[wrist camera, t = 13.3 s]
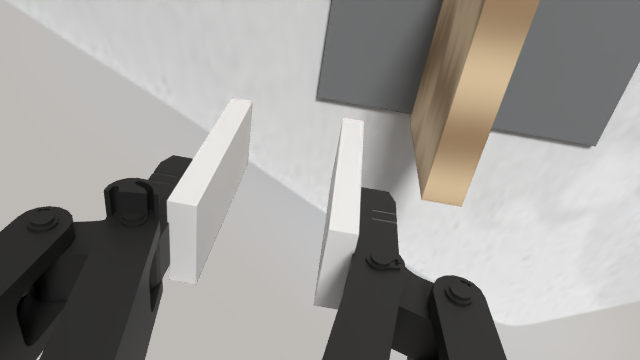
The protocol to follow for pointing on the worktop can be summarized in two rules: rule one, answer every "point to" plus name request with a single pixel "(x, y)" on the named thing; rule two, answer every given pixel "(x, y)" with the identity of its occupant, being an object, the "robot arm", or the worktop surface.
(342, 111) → the worktop surface
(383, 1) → the rubber mat
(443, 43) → the oak board
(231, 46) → the worktop surface
